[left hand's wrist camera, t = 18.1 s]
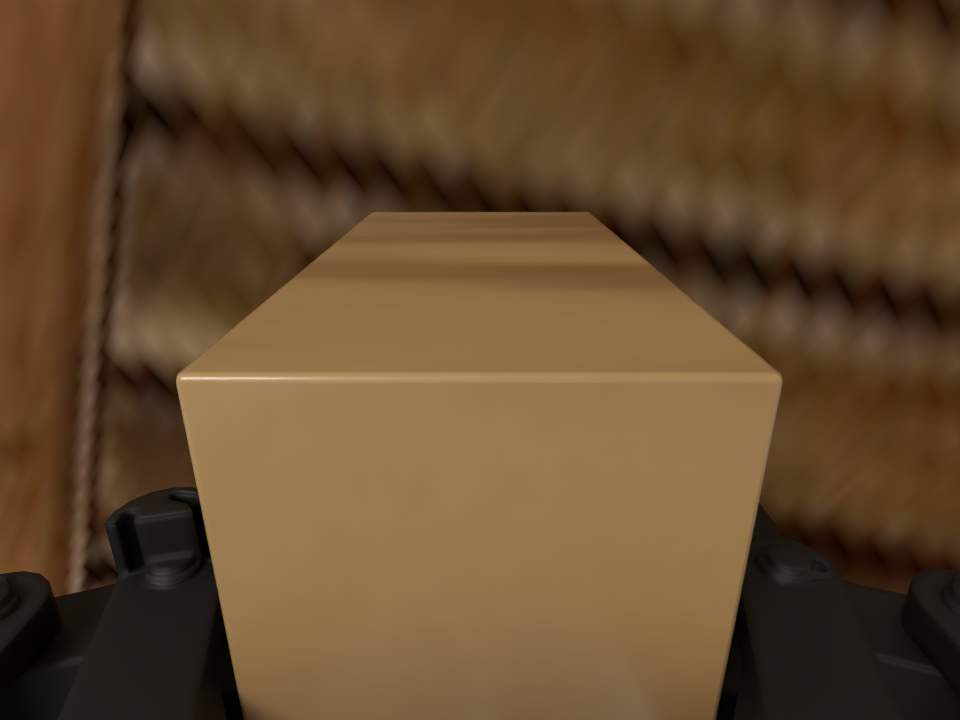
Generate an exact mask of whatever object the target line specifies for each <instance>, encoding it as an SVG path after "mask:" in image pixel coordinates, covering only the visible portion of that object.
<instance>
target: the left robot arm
mask: <svg viewBox="0 0 960 720" xmlns="http://www.w3.org/2000/svg"><path fill="white" fill-rule="evenodd" d="M105 527H106V531H107V534H108V538H109V542H110V545H111V549H112V553H113V556H114V560H115V563H116V567H117V571H118V574H119V577H118V579H117V581H116V583H115V584H111V585H108V586H104V587H101V588H96V589H91V590H87V591H82V592H77V593H73V594H68V595H63V596H59V597H54V595H53V592H52V589H51V586H50V583H49V581H48V580H47V579H46V578H44V577H43V576H42V575H41V574H38V573H32V572H25V571H21V572H13V573H5V574H0V720H244V719H243V714H242V709H241V704H240V699H239V694H238V689H237V684H236V679H235V674H234V669H233V664H232V659H231V654H230V649H229V644H228V639H227V634H226V629H225V624H224V619H223V614H222V609H221V604H220V599H219V594H218V589H217V584H216V579H215V574H214V569H213V564H212V559H211V554H210V549H209V544H208V539H207V534H206V529H205V524H204V519H203V514H202V509H201V504H200V499H199V494H198V489H197V488H192V487H181V488H169V489H164V490H160V491H155V492H151V493H149V494H146V495H144V496H141V497H139V498H136V499H134V500H131V501H130V502H128V503H127V504H125V505H124V506H122V507H121V508H119V509H118V510H116V511H115V512H114V513H113V514H112V515H111V517H110V518H109V519H108V520H107V521H106V522H105ZM716 720H960V571H953V570H945V569H932V570H926V571H921V572H920V573H919V574H918V575H916V576H915V577H914V578H913V579H912V582H911V585H910V588H909V591H908V594H907V595H905V594H900V593H895V592H891V591H886V590H881V589H877V588H872V587H867V586H863V585H858V584H855V583H851V582H848V581H844V580H843V578H842V576H841V574H840V573H839V571H838V570H837V568H836V567H835V566H834V564H833V563H832V562H831V561H830V560H829V559H827V558H826V557H825V556H823V555H822V554H821V553H820V552H818V551H817V550H815V549H813V548H811V547H809V546H807V545H804V544H802V543H800V542H798V541H795V540H791V539H787V538H784V536H783V535H782V534H781V532H780V531H779V530H778V528H777V527H776V525H775V524H774V523H773V521H772V520H771V518H770V517H769V516H768V514H767V513H766V512H765V510H764V509H763V507H762V506H761V505H760V503H759V505H758V510H757V515H756V520H755V525H754V530H753V535H752V540H751V545H750V550H749V555H748V560H747V565H746V570H745V575H744V580H743V586H742V591H741V596H740V601H739V606H738V611H737V616H736V621H735V626H734V631H733V636H732V641H731V646H730V651H729V656H728V661H727V666H726V671H725V676H724V681H723V686H722V692H721V697H720V702H719V707H718V712H717V717H716Z"/></svg>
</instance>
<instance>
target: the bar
mask: <svg viewBox="0 0 960 720" xmlns="http://www.w3.org/2000/svg"><path fill="white" fill-rule="evenodd" d="M176 384H177V389H178V394H179V399H180V404H181V409H182V414H183V419H184V424H185V429H186V434H187V439H188V444H189V449H190V454H191V459H192V464H193V469H194V474H195V479H196V484H197V489H198V494H199V499H200V504H201V509H202V514H203V519H204V524H205V529H206V534H207V539H208V544H209V549H210V554H211V559H212V564H213V569H214V574H215V579H216V584H217V589H218V594H219V599H220V604H221V609H222V614H223V619H224V624H225V629H226V634H227V639H228V644H229V649H230V654H231V659H232V664H233V669H234V674H235V679H236V684H237V689H238V694H239V699H240V704H241V709H242V714H243V719H244V720H716V717H717V712H718V707H719V702H720V697H721V692H722V686H723V681H724V676H725V671H726V666H727V661H728V656H729V651H730V646H731V641H732V636H733V631H734V626H735V621H736V616H737V611H738V606H739V601H740V596H741V591H742V586H743V580H744V575H745V570H746V565H747V560H748V555H749V550H750V545H751V540H752V535H753V530H754V525H755V520H756V515H757V510H758V505H759V500H760V495H761V490H762V485H763V479H764V474H765V469H766V464H767V459H768V454H769V449H770V444H771V439H772V434H773V429H774V424H775V419H776V414H777V409H778V404H779V399H780V394H781V389H782V384H783V382H782V376H781V374H780V373H779V372H778V371H777V370H776V369H774V368H773V367H772V366H771V365H770V364H769V363H767V362H766V361H765V360H764V359H763V358H761V357H760V356H759V355H758V354H757V353H755V352H754V351H753V350H752V349H751V348H750V347H748V346H747V345H746V344H745V343H744V342H742V341H741V340H740V339H739V338H738V337H736V336H735V335H734V334H733V333H732V332H730V331H729V330H728V329H727V328H726V327H725V326H723V325H722V324H721V323H720V322H719V321H717V320H716V319H715V318H714V317H713V316H711V315H710V314H709V313H708V312H707V311H706V310H704V309H703V308H702V307H701V306H700V305H698V304H697V303H696V302H695V301H694V300H692V299H691V298H690V297H689V296H688V295H687V294H685V293H684V292H683V291H682V290H681V289H679V288H678V287H677V286H676V285H675V284H673V283H672V282H671V281H670V280H669V279H668V278H666V277H665V276H664V275H663V274H662V273H660V272H659V271H658V270H657V269H656V268H654V267H653V266H652V265H651V264H650V263H648V262H647V261H646V260H645V259H644V258H643V257H641V256H640V255H639V254H638V253H637V252H635V251H634V250H633V249H632V248H631V247H629V246H628V245H627V244H626V243H625V242H624V241H622V240H621V239H620V238H619V237H618V236H616V235H615V234H614V233H613V232H612V231H610V230H609V229H608V228H607V227H606V226H605V225H603V224H602V223H601V222H600V221H599V220H597V219H596V218H595V217H594V216H593V215H591V214H590V213H588V212H373V213H371V214H369V215H368V216H367V217H366V218H365V219H363V220H362V221H361V222H360V223H359V224H357V225H356V226H355V227H354V228H353V229H351V230H350V231H349V232H348V233H347V234H345V235H344V236H343V237H342V238H341V239H339V240H338V241H337V242H336V243H335V244H333V245H332V246H331V247H330V248H329V249H327V250H326V251H325V252H324V253H323V254H321V255H320V256H319V257H318V258H317V259H315V260H314V261H313V262H312V263H311V264H309V265H308V266H307V267H306V268H305V269H303V270H302V271H301V272H300V273H299V274H297V275H296V276H295V277H294V278H293V279H291V280H290V281H289V282H288V283H287V284H285V285H284V286H283V287H282V288H281V289H279V290H278V291H277V292H276V293H275V294H273V295H272V296H271V297H270V298H269V299H267V300H266V301H265V302H264V303H263V304H261V305H260V306H259V307H258V308H257V309H255V310H254V311H253V312H252V313H250V314H249V315H248V316H247V317H246V318H244V319H243V320H242V321H241V322H240V323H238V324H237V325H236V326H235V327H234V328H232V329H231V330H230V331H229V332H228V333H226V334H225V335H224V336H223V337H222V338H220V339H219V340H218V341H217V342H216V343H214V344H213V345H212V346H211V347H210V348H208V349H207V350H206V351H205V352H204V353H202V354H201V355H200V356H199V357H198V358H196V359H195V360H194V361H193V362H192V363H190V364H189V365H188V366H187V367H186V368H184V369H183V370H182V371H181V372H180V373H178V376H177V381H176Z"/></svg>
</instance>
